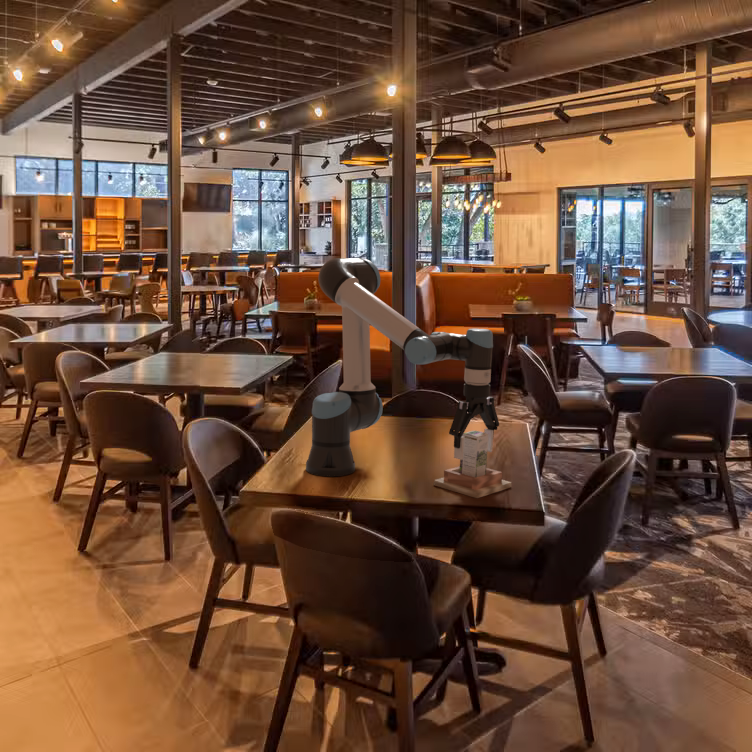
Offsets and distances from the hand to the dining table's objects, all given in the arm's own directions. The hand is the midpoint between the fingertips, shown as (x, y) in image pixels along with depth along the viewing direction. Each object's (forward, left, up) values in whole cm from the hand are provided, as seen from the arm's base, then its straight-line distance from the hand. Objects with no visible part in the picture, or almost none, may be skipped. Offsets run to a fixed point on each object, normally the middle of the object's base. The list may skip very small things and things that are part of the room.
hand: (473, 454), depth 232 cm
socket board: (0, 0, -9) cm, 9 cm away
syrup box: (0, 0, -8) cm, 8 cm away
